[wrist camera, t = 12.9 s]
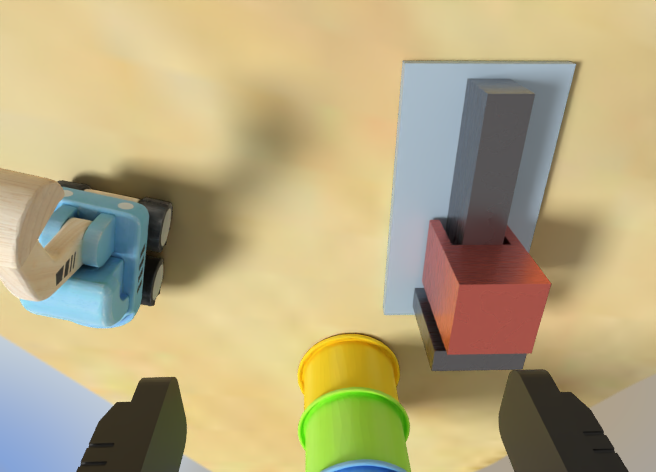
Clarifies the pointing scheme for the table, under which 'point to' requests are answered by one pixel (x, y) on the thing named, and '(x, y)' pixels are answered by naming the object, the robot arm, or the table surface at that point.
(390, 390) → the stacking cups
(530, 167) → the base board
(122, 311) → the toy excavator
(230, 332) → the table surface
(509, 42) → the table surface
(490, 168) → the coupler rail
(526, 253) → the red slotted block
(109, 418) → the robot arm
